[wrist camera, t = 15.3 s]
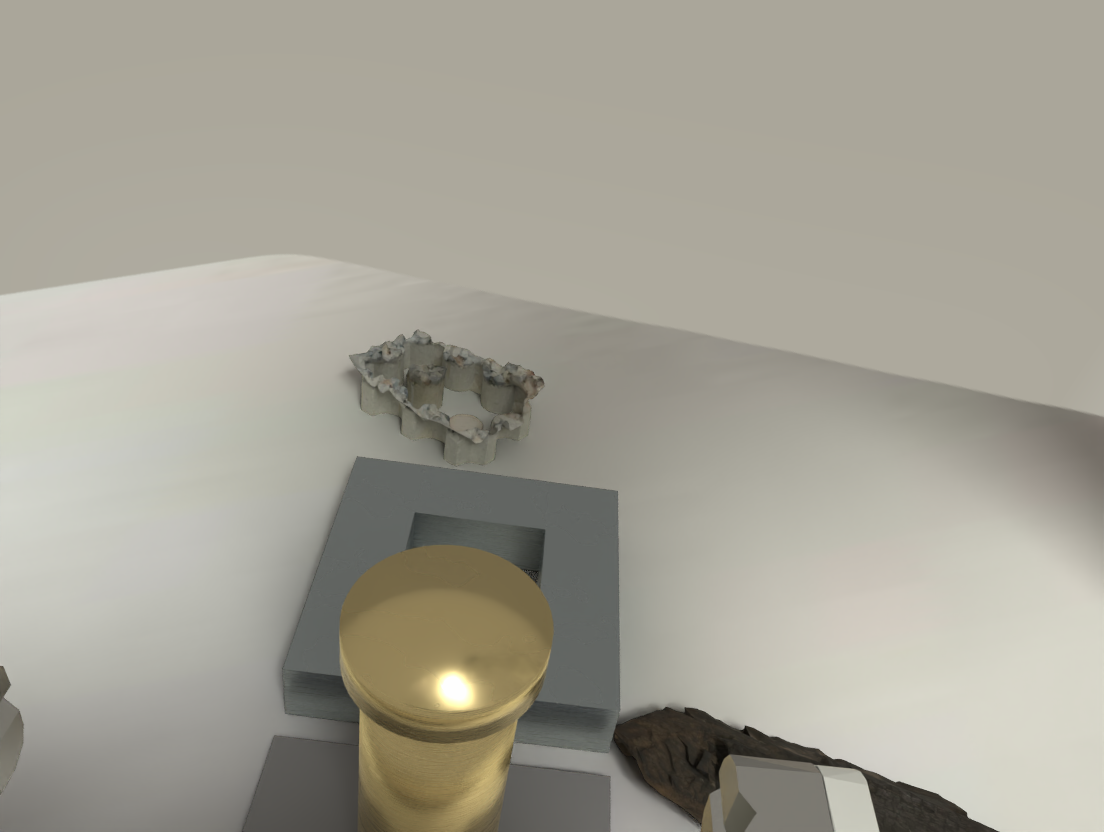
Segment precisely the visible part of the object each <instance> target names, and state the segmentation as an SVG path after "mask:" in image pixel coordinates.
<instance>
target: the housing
mask: <svg viewBox="0 0 1104 832" xmlns="http://www.w3.org/2000/svg"><path fill="white" fill-rule="evenodd" d="M431 545H457V546H465V547H471V548H476V549H479V550H483V551H487V552H489V553H492V554H494V555H497V556H499V557H501V558H503V559H505V560H507V561H509V562H511V563H512V564H514V565H515V566H517V567H518V568H520V569H524V570H532V571H538V582H537V586H538V587H539V588H540V590H541V591H542V592H543V594H544V596H545V598H546V600H547V602H548V604H549V607H550V610H551V613H552V618H553V629H554V634H553V641H552V647H551V652H550V657H549V662H548V667H547V672H546V677H545V680H544V683H543V686H542V689H541V691H540V693H539V695H538V697H537V698H536V700H535V701H534V703H533V704H532V705H531V707H530V708H529V709H528V710H527V711H526V712H525V713H524V714H523V715H522V716H521V717H520V718H519V719H518V720H517V726H516V731H515V737H514V742H520V743H528V744H536V745H544V746H553V747H561V748H569V749H577V750H585V751H593V752H601V753H608V752H609V748H610V745H611V741H612V738H613V734H614V730H615V727H616V723H617V720H618V716H619V712H620V662H619V552H618V491H614V490H606V489H599V488H591V487H584V486H576V485H568V484H561V483H553V482H546V481H538V480H531V479H523V478H516V477H508V476H501V475H493V474H486V473H478V472H471V471H463V470H456V469H448V468H440V467H433V466H425V465H418V464H410V463H403V462H395V461H388V460H380V459H373V458H365V457H358V456H357V458H356V461H355V464H354V466H353V469H352V472H351V475H350V478H349V481H348V484H347V486H346V489H345V492H344V495H343V498H342V501H341V504H340V506H339V509H338V512H337V515H336V518H335V521H334V524H333V526H332V529H331V532H330V535H329V538H328V541H327V543H326V546H325V549H324V552H323V555H322V558H321V561H320V563H319V566H318V569H317V572H316V575H315V578H314V581H313V583H312V586H311V589H310V592H309V595H308V598H307V601H306V603H305V606H304V609H303V612H302V615H301V618H300V621H299V623H298V626H297V629H296V632H295V635H294V638H293V640H292V643H291V646H290V649H289V652H288V655H287V658H286V660H285V663H284V666H283V684H284V701H285V714H292V715H300V716H308V717H316V718H325V719H333V720H341V721H349V722H357V723H359V720H360V708H359V707H358V706H357V705H356V704H355V702H354V701H353V699H352V698H351V697H350V695H349V693H348V691H347V689H346V687H345V685H344V682H343V678H342V675H341V669H340V637H339V627H340V615H341V610H342V606H343V603H344V601H345V598H346V596H347V594H348V593H349V591H350V589H351V588H352V586H353V585H354V584H355V582H356V581H357V580H358V579H359V578H360V577H361V576H362V575H363V574H364V573H365V572H366V571H367V570H368V569H370V568H371V567H373V566H374V565H375V564H377V563H378V562H380V561H382V560H384V559H385V558H387V557H389V556H392V555H394V554H397V553H399V552H402V551H405V550H409V549H412V548H417V547H422V546H431Z"/></svg>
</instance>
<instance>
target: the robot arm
mask: <svg viewBox="0 0 1104 832" xmlns="http://www.w3.org/2000/svg"><path fill="white" fill-rule="evenodd" d="M10 686H11V684H10V682H9V679H8V677H7V674H6V672H5V669H4V667H3V666H0V795H1V794H2V792H3V791H4V789H5V787H6V785H7V783H8V782H9V780H10V778H11V776H12V774H13V772H14V771H15V768H16V765H17V762H18V758H19V755H20V752H21V748H22V745H23V725H24V724H23V721H22V717H21V714H20V711H19V709H17V708H16V707H15V706H14V705H12V704H11V703H10V702H9V701H7V700H6V699H5V698H4V695H5V694H6V692H7V690H8V689H9V687H10ZM719 780H720V789H718V790H716V791H714V792H712V793H711V794H710V795H709V797H708V800H707V803H706V806H705V809H704V812H703V819H702V826H701V832H879V828H878V824H877V820H876V816H875V812H874V808H873V804H872V800H871V796H870V792H869V788H868V784H867V780H866V779H865V777H864V776H863V775H862V773H861V772H860V771H858V770H856V769H850V768H840V767H831V766H821V765H813V763H807V762H797V761H788V760H778V759H769V758H759V757H750V756H740V755H731V754H730V755H728V756H727V757H726V758H724V760H723V763H722V765H721V767H720V770H719Z"/></svg>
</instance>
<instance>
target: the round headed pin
mask: <svg viewBox="0 0 1104 832" xmlns="http://www.w3.org/2000/svg"><path fill="white" fill-rule="evenodd" d="M553 634H554V629H553V618H552V613H551V610H550V607H549V604H548V602H547V600H546V598H545V596H544V594H543V592H542V591H541V590H540V588H539V587H538V586H537V584H536V583H535V582H534V581H533V580H532V579H531V578H530V577H529V576H528V575H527V574H526V573H525V572H523V571H522V570H521V569H520V568H518V567H517V566H515V565H514V564H512V563H511V562H509V561H507V560H505V559H503V558H501V557H499V556H497V555H494V554H492V553H489V552H487V551H483V550H479V549H476V548H471V547H465V546H457V545H431V546H422V547H417V548H412V549H409V550H405V551H402V552H399V553H397V554H394V555H392V556H389V557H387V558H385V559H384V560H382V561H380V562H378V563H377V564H375V565H374V566H373V567H371V568H370V569H368V570H367V571H366V572H365V573H364V574H363V575H362V576H361V577H360V578H359V579H358V580H357V581H356V582H355V584H354V585H353V586H352V588H351V589H350V591H349V593H348V594H347V596H346V598H345V601H344V603H343V606H342V610H341V615H340V627H339V637H340V669H341V675H342V678H343V682H344V685H345V687H346V689H347V691H348V693H349V695H350V697H351V698H352V699H353V701H354V702H355V704H356V705H357V706H358V707H359V708H360V720H359V782H358V832H498V827H499V821H500V815H501V810H502V804H503V799H504V793H505V787H506V782H507V776H508V770H509V765H510V759H511V754H512V748H513V742H514V737H515V731H516V726H517V720H518V719H519V718H520V717H521V716H522V715H523V714H524V713H525V712H526V711H527V710H528V709H529V708H530V707H531V705H532V704H533V703H534V701H535V700H536V698H537V697H538V695H539V693H540V691H541V689H542V686H543V683H544V680H545V677H546V672H547V667H548V662H549V657H550V652H551V647H552V641H553Z"/></svg>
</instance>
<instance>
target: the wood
mask: <svg viewBox="0 0 1104 832" xmlns="http://www.w3.org/2000/svg"><path fill="white" fill-rule="evenodd" d="M613 737H614V741H615V742H616V743H617V745H618V747H619V748H620V750H621V751H622V752H623V753H624V755H625V756H633V757H634V758H635V759H636V760H637V763H638V766H639V768H640V770H641V772H642V775H643V777H644V779H645V781H646V782H647V783H649V784H650V785H651V786H652V787H653V788H654V789H655V790H657V791H658V792H659V793H660V794H661V795H663V796H664V797H666V798H668V799H669V800H671V801H673V802H674V803H676V804H678V805H679V806H681V807H682V808H683V809H685V810H686V811H687V812H689V813H690V814H691V815H692V816H693V817H694V818H695V819H697V820H698V821H699V822H700V823H702V819H703V812H704V809H705V806H706V803H707V800H708V797H709V795H710V794H711V793H712V792H714V791H716V790H718V789H720V780H719V770H720V767H721V765H722V763H723V760H724V758H726V757H727V756H728V755H730V754H731V755H740V756H750V757H759V758H769V759H778V760H788V761H797V762H807V763H813V765H821V766H831V767H840V768H850V769H856V770H858V771H860V772H861V773H862V775H863V776H864V777H865V779H866V780H867V784H868V788H869V792H870V796H871V800H872V804H873V808H874V812H875V816H876V820H877V824H878V828H879V832H999V831H996V830H994V829H992V828H990V827H987V826H985V825H983V824H981V823H979V822H976V821H974V820H972V819H969V818H968V817H967V812H965V811H964V810H963V809H961V808H960V807H958V806H957V805H955V804H954V803H952V802H950V801H948V800H946V799H944V798H942V797H941V796H940V795H939V794H936V793H933V792H930V791H927V790H923V789H920V788H917V787H914V786H911V785H908V784H905V783H902V782H900V781H899V782H896V783H895V782H893V781H891V780H889V779H887V778H885V777H883V776H881V775H879V774H877V773H874V772H870V771H867V770H864V769H862V768H860V767H858V766H856V765H854V764H852V763H849V762H847V761H845V760H842V759H832V758H830V757H828V756H827V755H825V754H824V753H823V752H822V751H820V750H819V749H815V748H808V747H803V746H800V745H798V744H795V743H790V742H787V741H785V740H783V739H781V738H779V737H771V738H770V737H768V736H767V735H765V734H763V733H761V732H760V731H758V730H756V729H754V728H751V727H748V726H745V728H744V730H737V729H735V728H732V727H730V726H728V725H727V724H725V723H723V722H722V721H720V720H717V719H714V718H713V717H712V716H710V715H709V714H707V713H706V712H704V711H701V710H698V709H695V708H686V707H685V713H682V712H678V711H675V710H673V709H671V708H669V707H665V708H664V709H663V710H661V711H660V710H657V711H654V712H652V713H649V714H647V715H644V716H640V717H638V718H634V719H631V720H629V721H627V722H625V723H624V724H618V725H616V727H615V730H614V734H613Z"/></svg>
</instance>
